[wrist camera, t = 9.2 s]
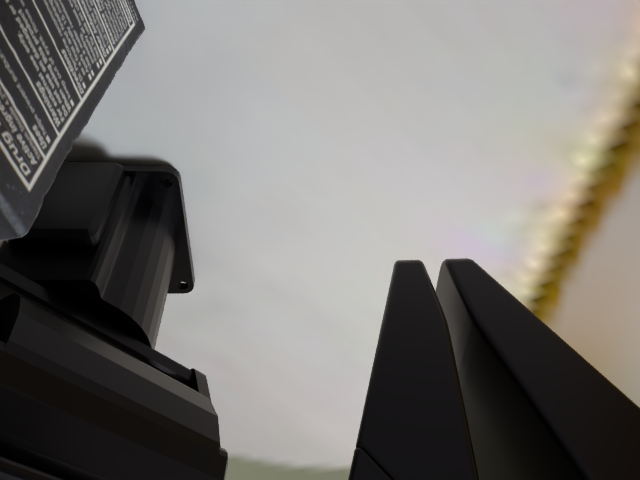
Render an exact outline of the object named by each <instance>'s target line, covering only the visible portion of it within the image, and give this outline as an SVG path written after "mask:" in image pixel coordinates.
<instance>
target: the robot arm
mask: <svg viewBox="0 0 640 480" xmlns="http://www.w3.org/2000/svg"><path fill="white" fill-rule="evenodd" d="M161 177H168V178H170V179H171V180H172V182H165V181H164V180H162V178H161ZM181 281H182V282H186V283H181ZM194 282H195V277H194V270H193V262H192V255H191V248H190V240H189V233H188V226H187V219H186V211H185V204H184V197H183V190H182V182H181V176H180V173H179V172H178V171H177V170H176V169H175V168H173V167H171V166H166V165H120V164H118V163H109V162H63V163H62V165H61V167H60V169H59V170H58V172H57V174H56V178H55V179H54V181H53V183H52V185H51V187H50V189H49V190H48V192H47V193H46V194H45V196H44V198H43V202H42V206H41V208H40V211H39V214H38V215H37V217H36V219H35V221H34V223H33V225H32V227H31V228H30V230H29V231H28V233H27V234H26V235H24V236H23V237H20V238H15V239H9V240H4V241H3V243H2V244H1V246H0V480H225V477H226V471H227V466H228V454H227V451H226V450H225V449H223V448H221V446H220V436H219V424H218V416H217V414H216V412H215V409H214V407H213V405H212V403H211V398H210V393H209V389H208V384H207V379H206V376H205V375H204V374H202V373H201V372H199V371H197V370H195V369H188V368H186V367H184V366H183V365H181V364H179V363H177V362H175V361H174V360H172V359H170V358H168V357H167V356H165V355H163V354H161V353H159V352H158V351H156V350H154V349H155V345H156V340H157V336H158V331H159V327H160V323H161V318H162V314H163V310H164V305H165V301H166V296H167V293H188V292H190V291H192V289H193V287H194ZM348 480H640V408H639V407H638V406H637V405H636V404H635V403H634V402H633V401H632V400H630V399H629V398H628V397H627V396H626V395H625V394H624V393H623V392H621V391H620V390H619V389H618V388H617V387H616V386H614V385H613V384H612V383H611V382H610V381H609V380H608V379H607V378H605V377H604V376H603V375H602V374H601V373H600V372H599V371H598V370H596V369H595V368H594V367H593V366H592V365H591V364H590V363H588V362H587V361H586V360H585V359H584V358H583V357H582V356H581V355H580V354H578V353H577V352H576V351H575V350H574V349H573V348H571V347H570V346H569V345H568V344H567V343H566V342H565V341H564V340H563V339H561V338H560V337H559V336H558V335H557V334H556V333H555V332H553V331H552V330H551V329H550V328H549V327H548V326H547V325H546V324H544V323H543V322H542V321H541V320H540V319H539V318H538V317H537V316H535V315H534V314H533V313H532V312H531V311H530V310H529V309H527V308H526V307H525V306H524V305H523V304H522V303H521V302H520V301H518V300H517V299H516V298H515V297H514V296H513V295H512V294H510V293H509V292H508V291H507V290H506V289H505V288H504V287H503V286H501V285H500V284H499V283H498V282H497V281H496V280H495V279H494V278H492V277H491V276H490V275H489V274H488V273H487V272H486V271H484V270H483V269H482V268H481V267H480V266H479V265H478V264H477V263H475V262H474V261H473V260H471V259H467V258H465V259H446V260H445V261H443V263H442V265H441V268H440V272H439V277H438V282H437V287H436V292H435V290H434V287H433V285H432V283H431V280H430V278H429V275H428V273H427V270H426V268H425V266H424V264H423V262H421V261H420V260H399V261H396V262H395V264H394V268H393V273H392V278H391V283H390V287H389V292H388V297H387V301H386V306H385V311H384V316H383V320H382V325H381V330H380V334H379V339H378V344H377V349H376V353H375V358H374V363H373V367H372V372H371V377H370V382H369V386H368V391H367V396H366V401H365V405H364V410H363V415H362V419H361V424H360V429H359V434H358V438H357V443H356V449H355V451H354V456H353V460H352V465H351V470H350V474H349V479H348Z"/></svg>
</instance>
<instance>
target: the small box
mask: <svg viewBox="0 0 640 480" xmlns="http://www.w3.org/2000/svg"><path fill="white" fill-rule="evenodd" d="M144 30H145V26H144V23H143V21H142V19H141V17H140V14H139V12H138V9H137V7H136V4H135V1H134V0H0V241H4V240H9V239H15V238H20V237H23V236H24V235H26V234H27V233H28V231H29V230H30V228H31V227H32V225H33V223H34V221H35V219H36V217H37V215H38V214H39V211H40V208H41V206H42V202H43V198H44V196H45V194H46V193H47V192H48V190H49V189H50V187H51V185H52V183H53V181H54V179H55V178H56V174H57V172H58V170H59V169H60V167H61V165H62V163H63V162H64V160H65V158H66V156H67V154H68V153H69V152H70V151H71V150H72V147H73V142H74V141H75V140H76V139H77V138H78V137H79V135H80V133H81V131H82V130H83V129H84V127H85V126H86V125H87V123H88V121H89V119H90V117H91V115H92V113H93V112H94V110H95V108H96V107H97V105H98V103H99V102H100V100H101V99H102V97H103V95H104V93H105V91H106V90H107V88H108V86H109V85H110V84H111V81H112V80H113V79H114V77H115V74H116V72H117V71H118V70H119V69H120V67H121V66H122V64H123V62H124V60H125V58H126V56H127V55H128V53H129V51H130V50H131V49H132V47H133V45H134V44H135V43H136V41H137V39H138V38H139V37H140V36H141V34H142V33H143V31H144Z"/></svg>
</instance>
